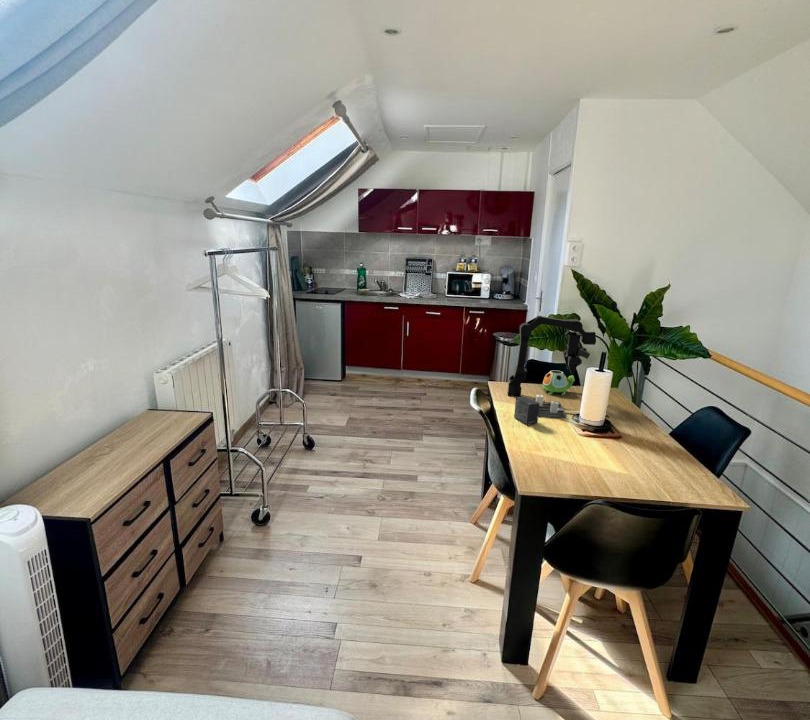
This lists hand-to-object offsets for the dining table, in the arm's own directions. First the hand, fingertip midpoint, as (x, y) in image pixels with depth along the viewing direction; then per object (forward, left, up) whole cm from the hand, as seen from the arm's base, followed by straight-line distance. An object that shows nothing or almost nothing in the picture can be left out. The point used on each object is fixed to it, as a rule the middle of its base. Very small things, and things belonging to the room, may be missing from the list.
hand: (570, 372), depth 245 cm
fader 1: (-17, -19, -13) cm, 29 cm away
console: (-13, -21, -15) cm, 29 cm away
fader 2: (-11, -28, -13) cm, 32 cm away
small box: (-25, -37, -15) cm, 47 cm away
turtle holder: (-4, +10, -15) cm, 19 cm away
